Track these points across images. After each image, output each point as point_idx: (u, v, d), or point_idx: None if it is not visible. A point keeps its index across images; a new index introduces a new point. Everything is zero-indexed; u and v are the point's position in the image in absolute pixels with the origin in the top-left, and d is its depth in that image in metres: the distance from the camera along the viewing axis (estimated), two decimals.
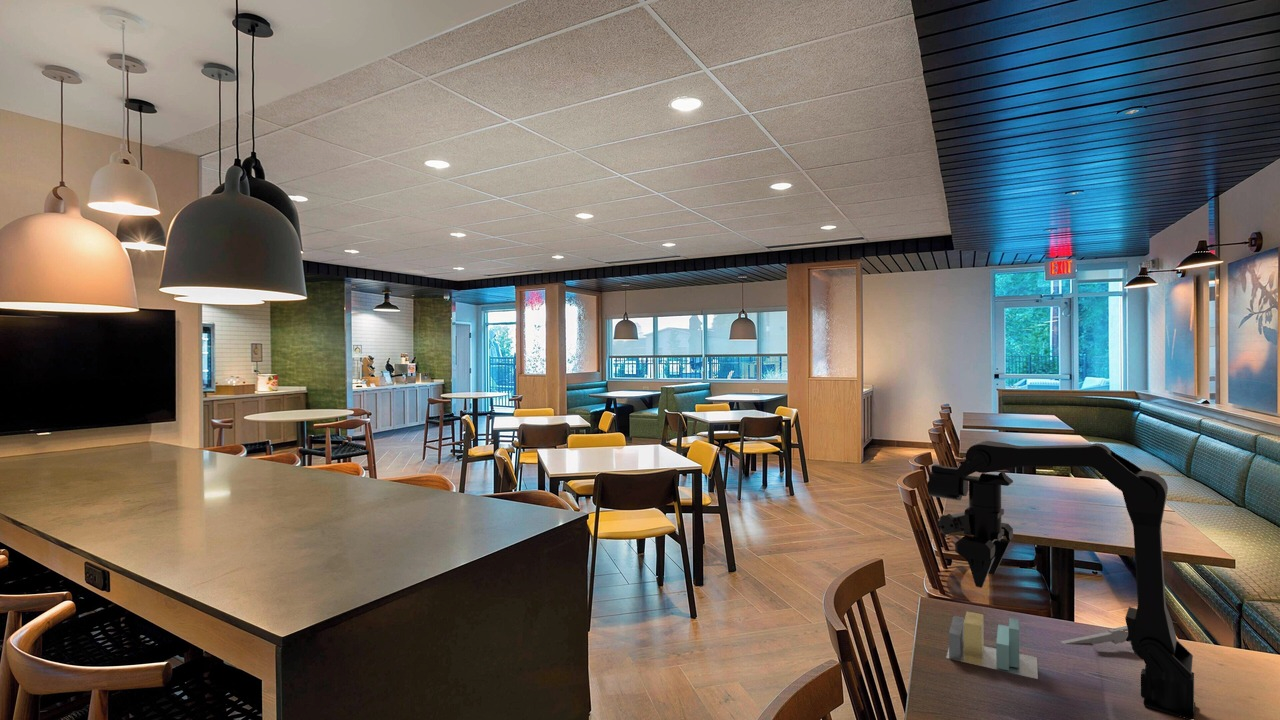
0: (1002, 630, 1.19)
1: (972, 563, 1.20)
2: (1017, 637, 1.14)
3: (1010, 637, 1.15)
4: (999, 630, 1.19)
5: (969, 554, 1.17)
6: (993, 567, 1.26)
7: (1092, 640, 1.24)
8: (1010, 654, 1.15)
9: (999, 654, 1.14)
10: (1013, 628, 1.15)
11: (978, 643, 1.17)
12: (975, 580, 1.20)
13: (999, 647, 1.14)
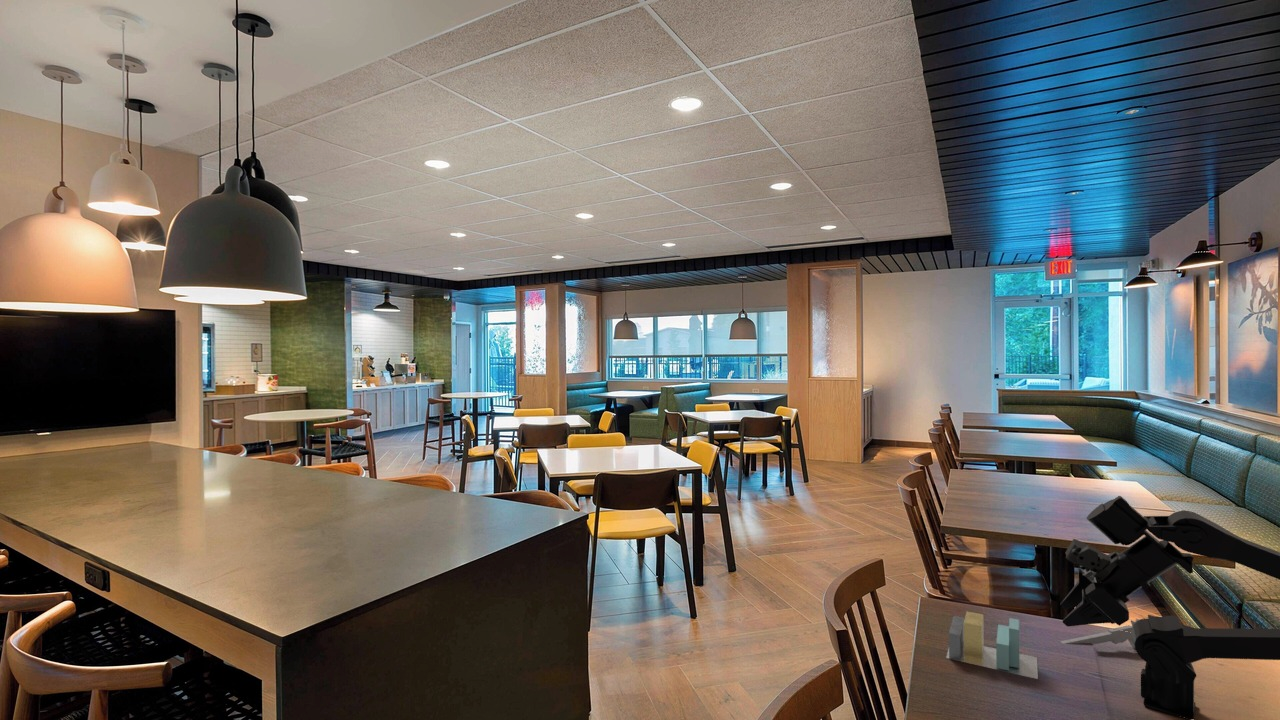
0: (1002, 630, 1.19)
1: (1084, 607, 1.06)
2: (1017, 637, 1.14)
3: (1010, 637, 1.15)
4: (999, 630, 1.19)
5: (1102, 608, 1.02)
6: (1071, 604, 1.15)
7: (1092, 640, 1.24)
8: (1010, 654, 1.15)
9: (999, 654, 1.14)
10: (1013, 628, 1.15)
11: (978, 643, 1.17)
12: (1068, 618, 1.08)
13: (999, 647, 1.14)
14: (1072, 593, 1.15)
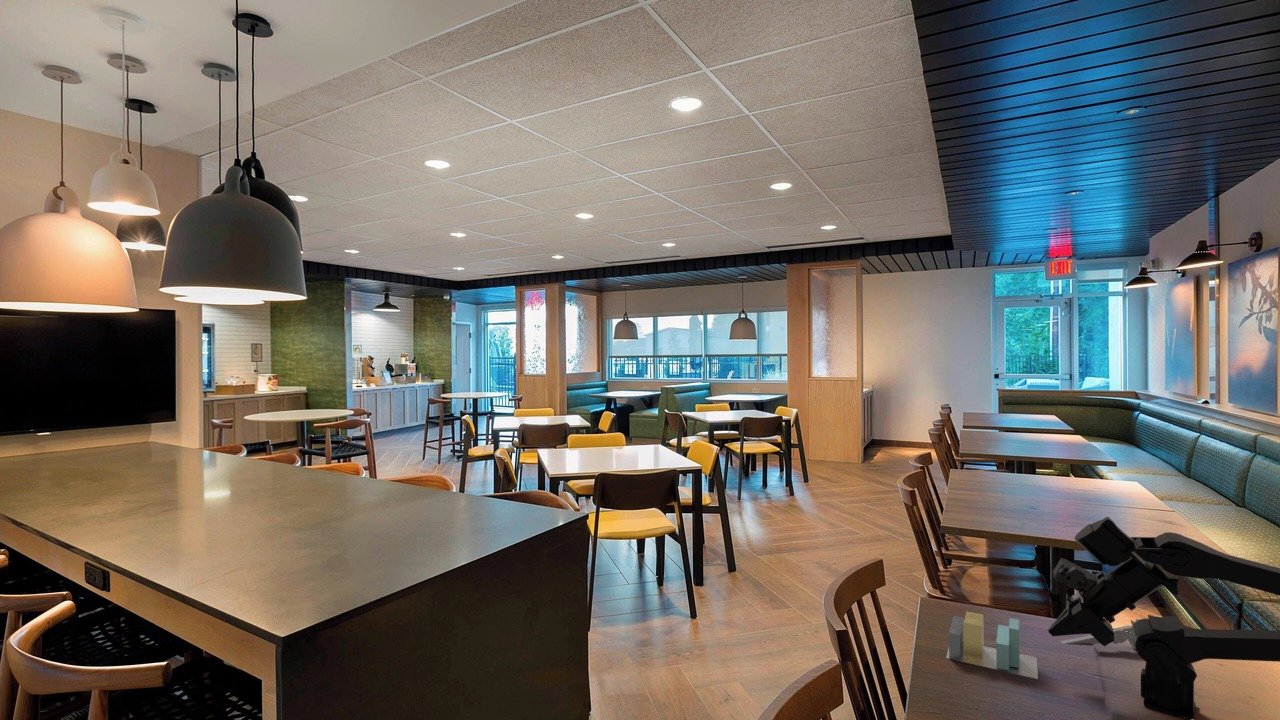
0: (1002, 630, 1.19)
1: (1069, 618, 1.10)
2: (1017, 637, 1.14)
3: (1010, 637, 1.15)
4: (999, 630, 1.19)
5: (1087, 629, 1.03)
6: None
7: (1092, 640, 1.24)
8: (1010, 654, 1.15)
9: (999, 654, 1.14)
10: (1013, 628, 1.15)
11: (978, 643, 1.17)
12: (1054, 628, 1.12)
13: (999, 647, 1.14)
14: None
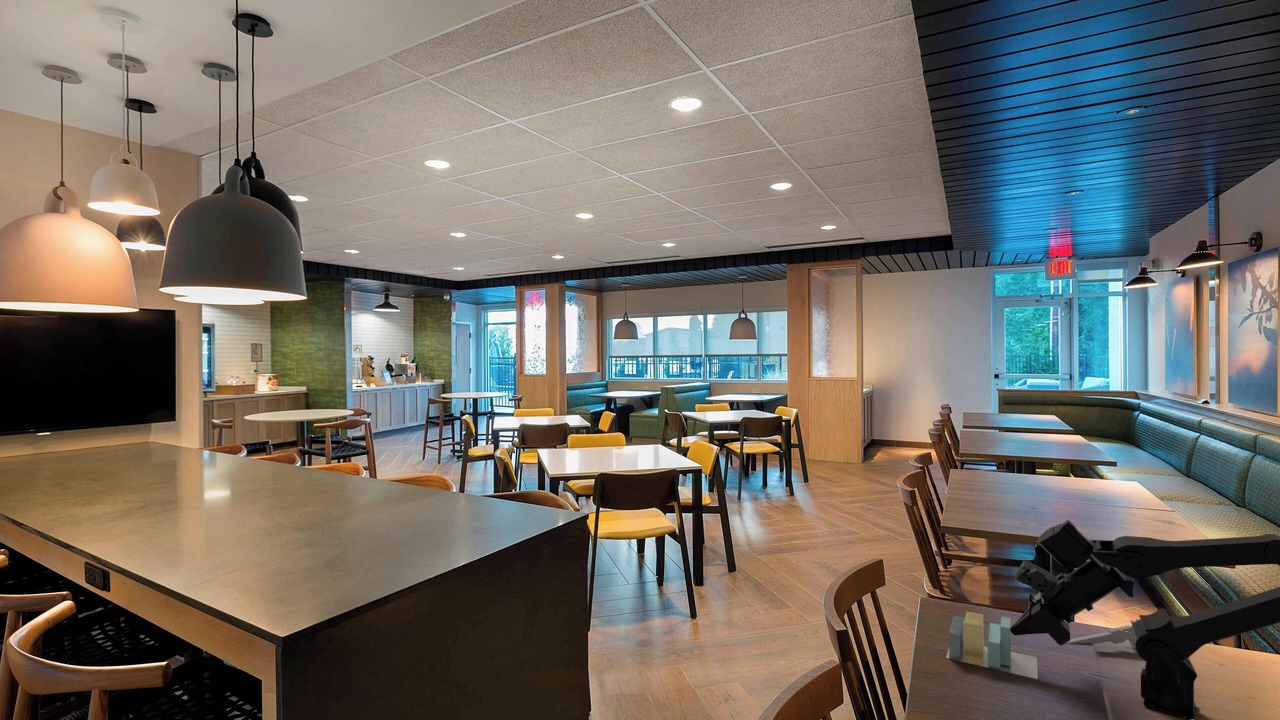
0: (993, 628, 1.20)
1: (1030, 618, 1.14)
2: (1008, 635, 1.15)
3: (1001, 635, 1.15)
4: (991, 628, 1.20)
5: (1045, 628, 1.06)
6: None
7: (1092, 640, 1.24)
8: (1001, 652, 1.15)
9: (990, 652, 1.15)
10: (1005, 626, 1.15)
11: (978, 643, 1.17)
12: (1015, 628, 1.16)
13: (990, 645, 1.15)
14: (1022, 619, 1.16)
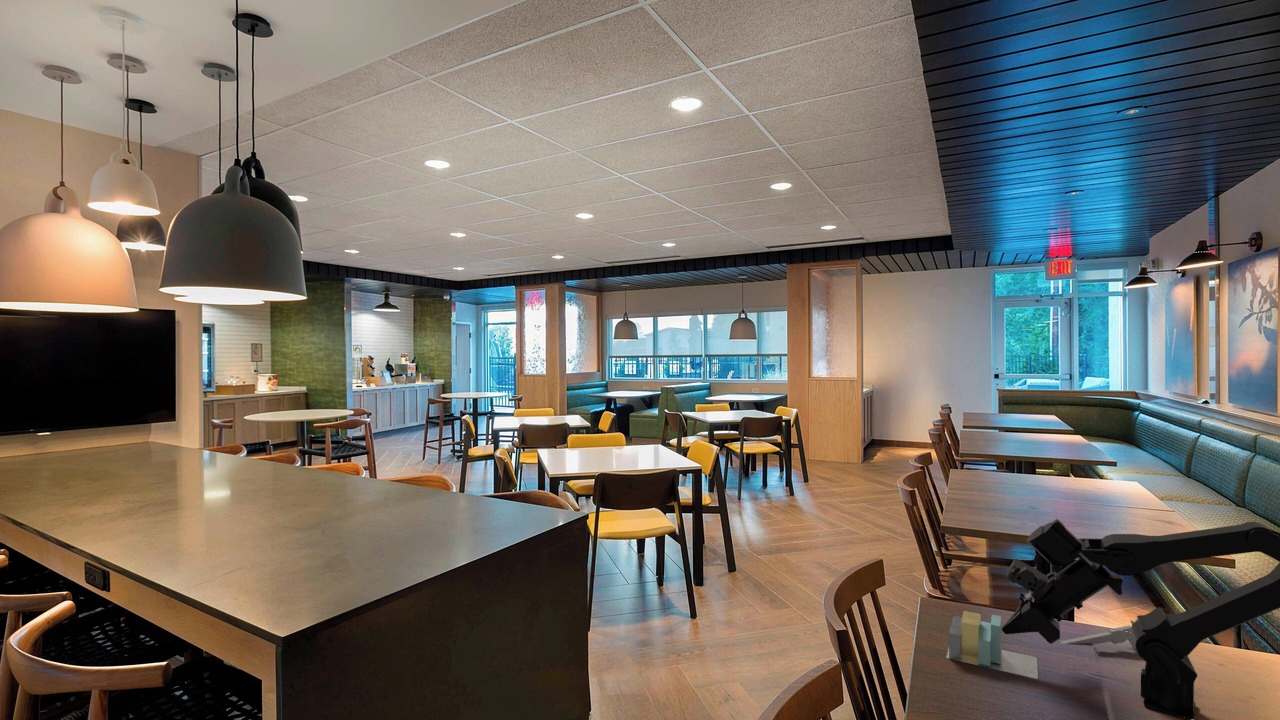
0: (984, 626, 1.21)
1: (1021, 617, 1.14)
2: (998, 633, 1.16)
3: (992, 633, 1.16)
4: (981, 626, 1.21)
5: (1035, 627, 1.07)
6: None
7: (1092, 640, 1.24)
8: (992, 650, 1.16)
9: (981, 650, 1.16)
10: (995, 624, 1.16)
11: (975, 642, 1.17)
12: (1007, 627, 1.16)
13: (980, 643, 1.16)
14: (1013, 618, 1.17)
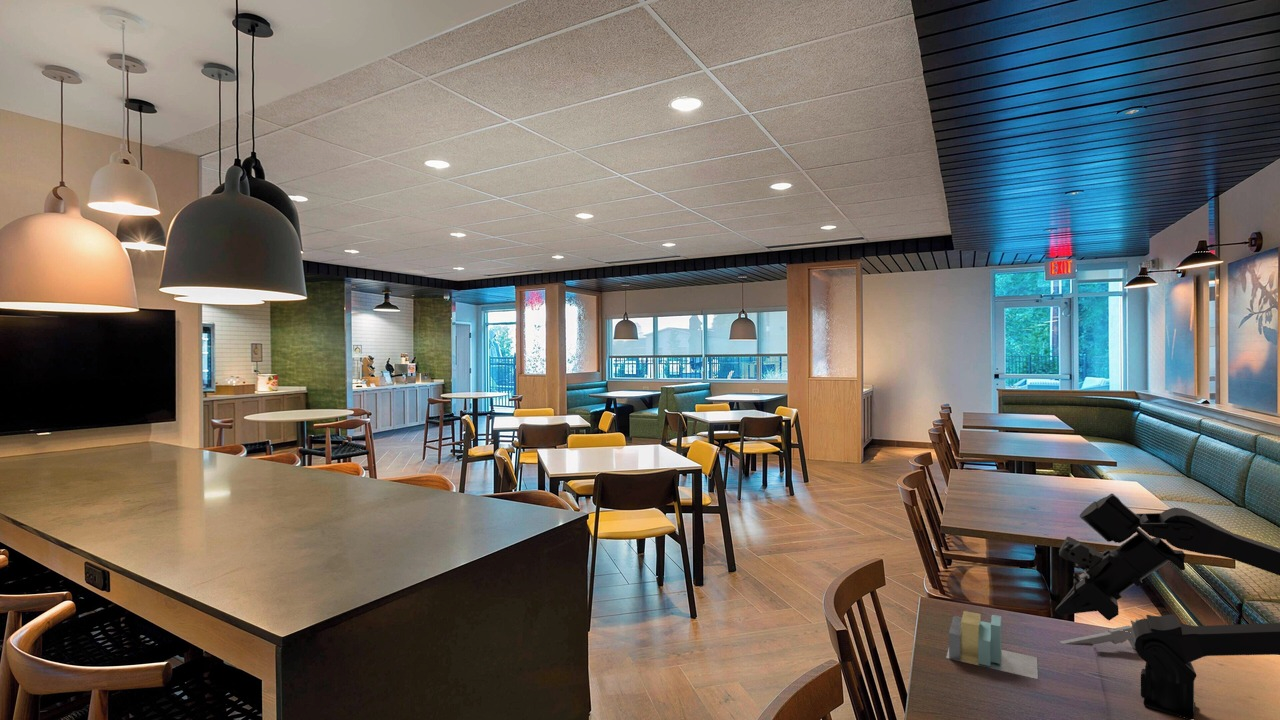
0: (984, 626, 1.21)
1: (1076, 596, 1.10)
2: (998, 633, 1.16)
3: (992, 633, 1.16)
4: (981, 626, 1.21)
5: (1091, 603, 1.02)
6: None
7: (1092, 640, 1.24)
8: (992, 650, 1.16)
9: (981, 650, 1.16)
10: (995, 624, 1.16)
11: (975, 642, 1.17)
12: (1061, 607, 1.12)
13: (980, 643, 1.16)
14: None
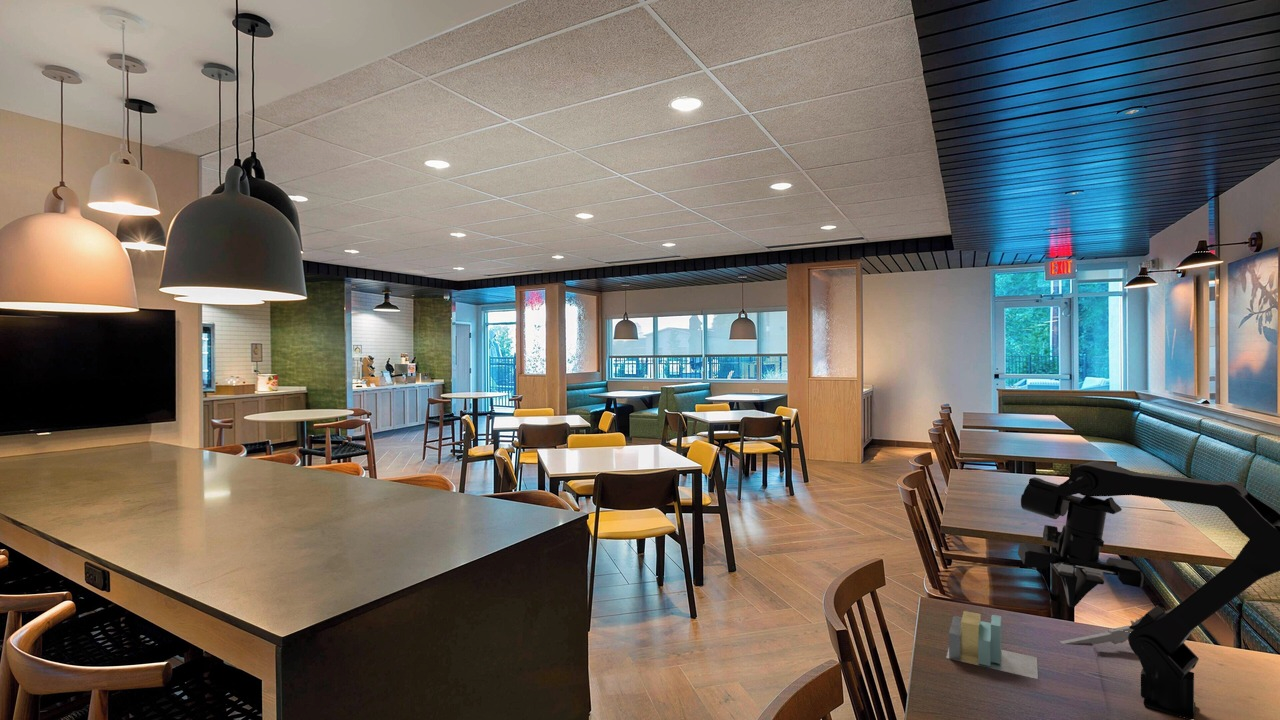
0: (984, 626, 1.21)
1: (1063, 578, 1.17)
2: (998, 633, 1.16)
3: (992, 633, 1.16)
4: (981, 626, 1.21)
5: (1020, 557, 1.18)
6: None
7: (1092, 640, 1.24)
8: (992, 650, 1.16)
9: (981, 650, 1.16)
10: (995, 624, 1.16)
11: (975, 642, 1.17)
12: (1066, 597, 1.17)
13: (980, 643, 1.16)
14: None
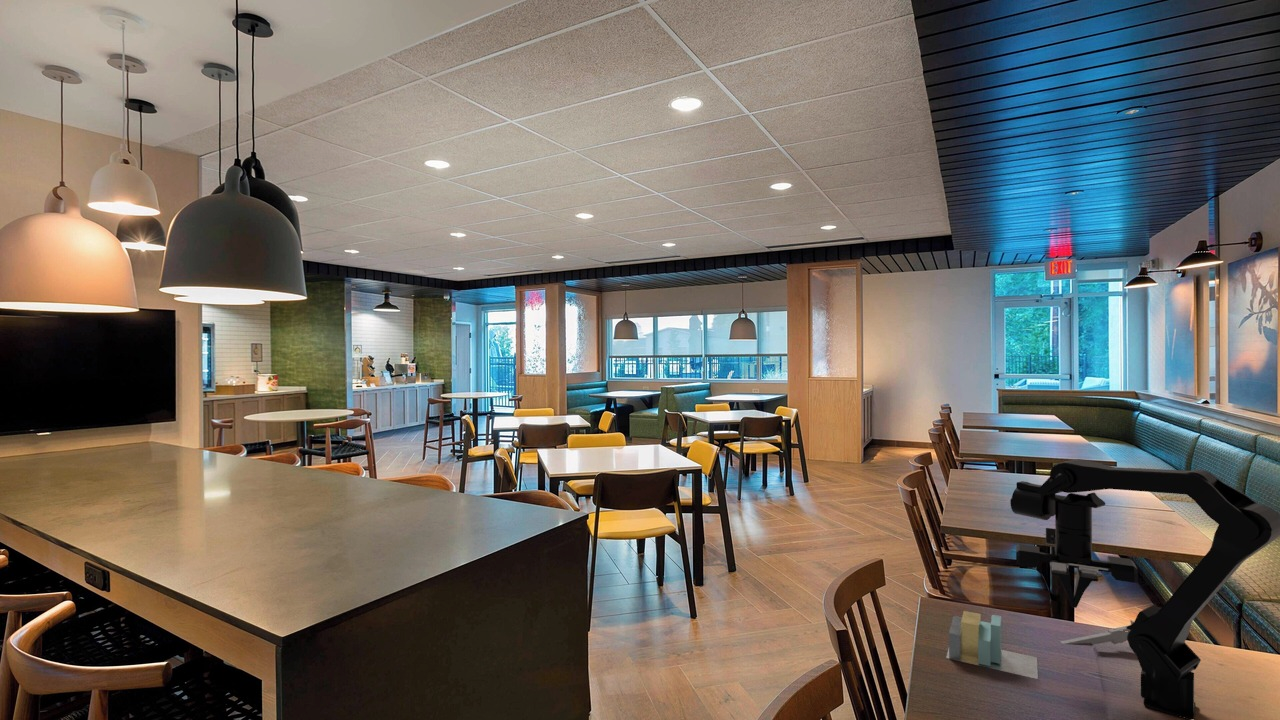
0: (984, 626, 1.21)
1: None
2: (998, 633, 1.16)
3: (992, 633, 1.16)
4: (981, 626, 1.21)
5: None
6: None
7: (1091, 640, 1.24)
8: (992, 650, 1.16)
9: (981, 650, 1.16)
10: (995, 624, 1.16)
11: (975, 642, 1.17)
12: None
13: (980, 643, 1.16)
14: None
